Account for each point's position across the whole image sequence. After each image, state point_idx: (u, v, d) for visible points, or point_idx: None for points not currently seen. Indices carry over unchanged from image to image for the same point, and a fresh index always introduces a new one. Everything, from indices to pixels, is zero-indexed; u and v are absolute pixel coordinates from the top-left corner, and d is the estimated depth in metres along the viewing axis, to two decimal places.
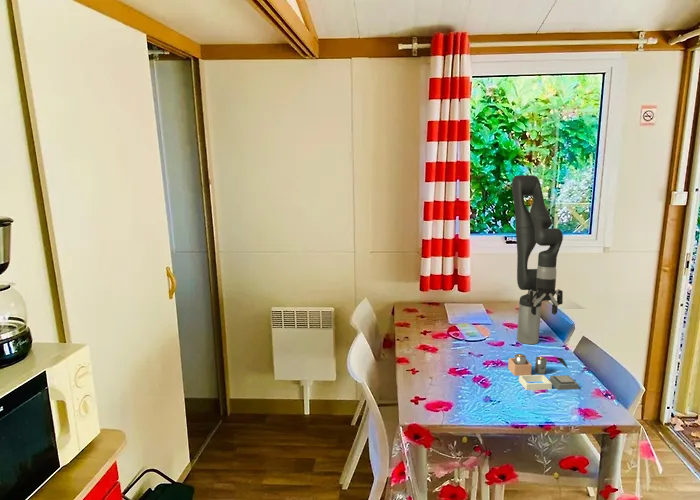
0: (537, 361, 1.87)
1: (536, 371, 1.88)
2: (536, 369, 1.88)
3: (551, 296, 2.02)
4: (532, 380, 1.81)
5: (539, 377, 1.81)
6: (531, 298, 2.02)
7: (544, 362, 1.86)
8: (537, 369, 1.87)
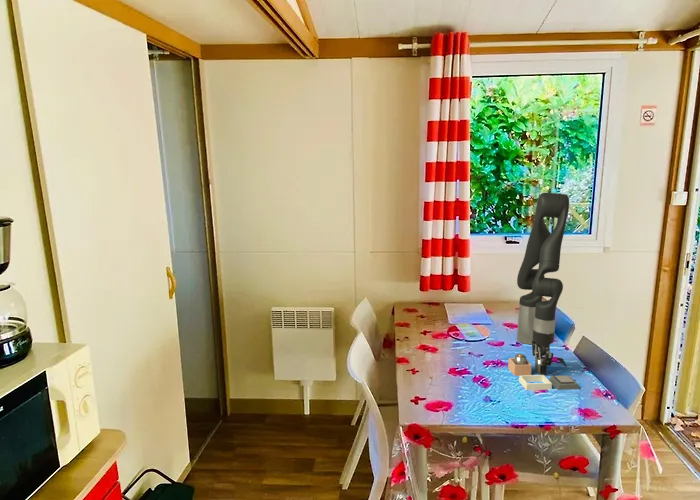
0: (537, 361, 1.87)
1: (536, 371, 1.88)
2: (536, 369, 1.88)
3: None
4: (532, 380, 1.81)
5: (539, 377, 1.81)
6: None
7: None
8: (537, 369, 1.87)
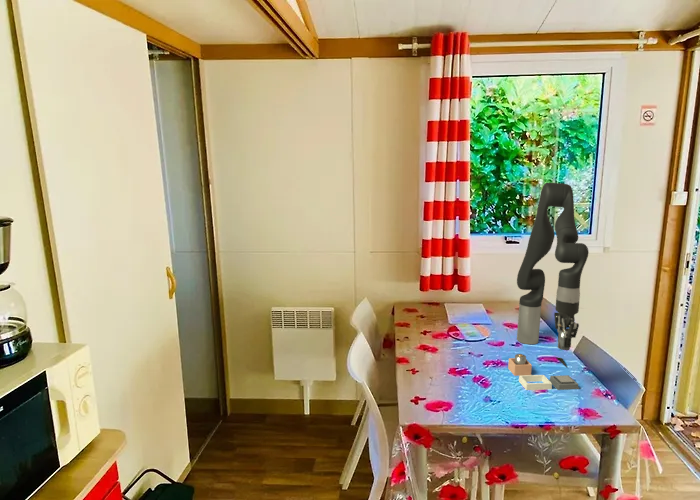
0: (561, 333, 1.74)
1: (559, 344, 1.75)
2: (559, 342, 1.75)
3: None
4: (532, 380, 1.81)
5: (539, 377, 1.81)
6: None
7: None
8: (560, 342, 1.75)
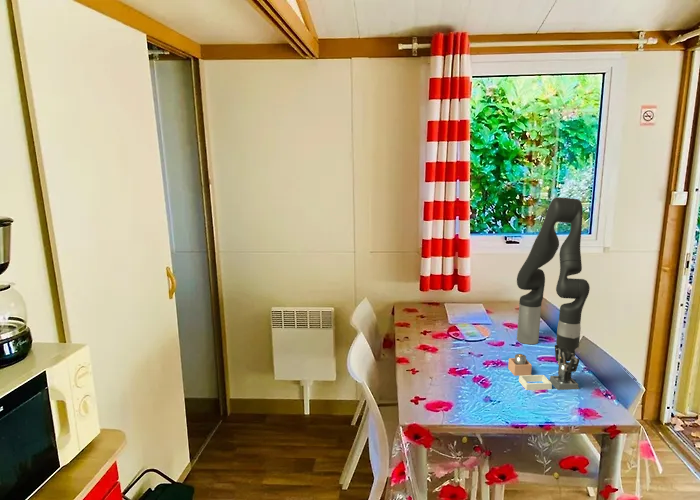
0: (561, 367, 1.76)
1: (560, 377, 1.77)
2: (560, 375, 1.77)
3: None
4: (532, 380, 1.81)
5: (539, 377, 1.81)
6: None
7: None
8: (561, 375, 1.77)
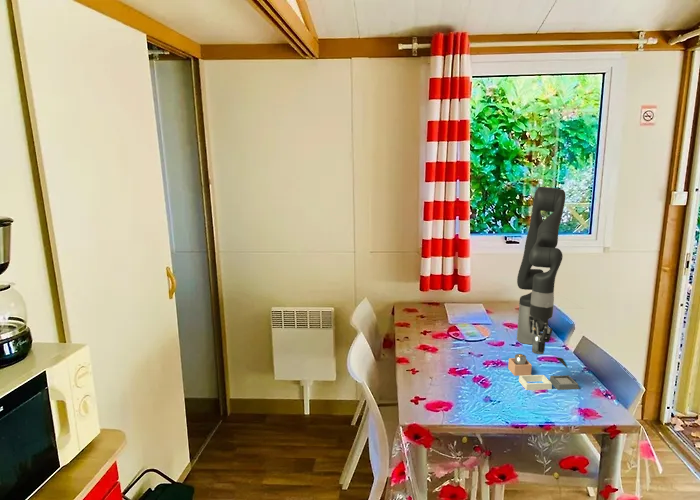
0: (535, 338, 1.74)
1: (534, 348, 1.75)
2: (534, 346, 1.75)
3: None
4: (532, 380, 1.81)
5: (539, 377, 1.81)
6: None
7: None
8: (534, 347, 1.74)
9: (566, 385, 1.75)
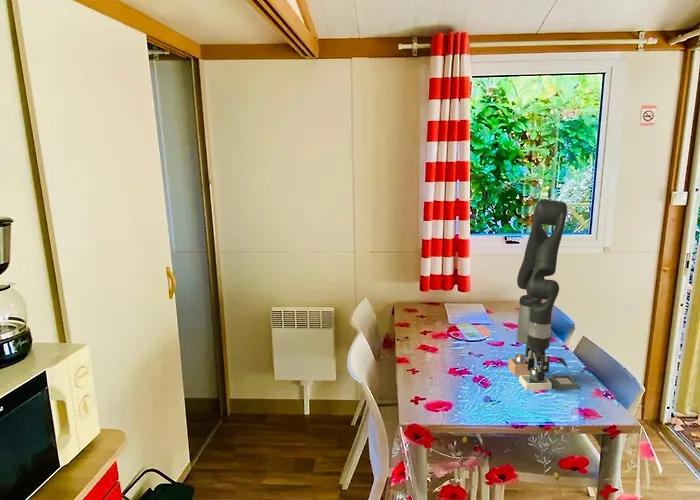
0: (532, 372, 1.76)
1: (531, 382, 1.77)
2: (531, 380, 1.77)
3: None
4: None
5: None
6: None
7: None
8: (531, 380, 1.77)
9: (566, 385, 1.75)
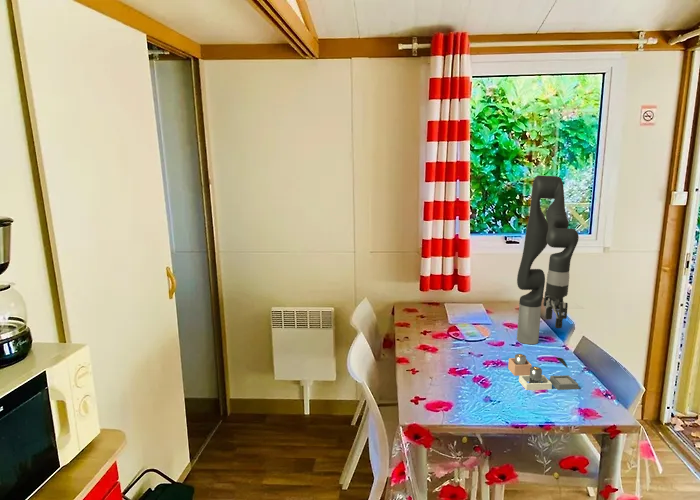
0: (532, 372, 1.76)
1: (531, 382, 1.77)
2: (531, 380, 1.77)
3: None
4: None
5: None
6: None
7: (539, 373, 1.75)
8: (531, 380, 1.77)
9: (566, 385, 1.75)
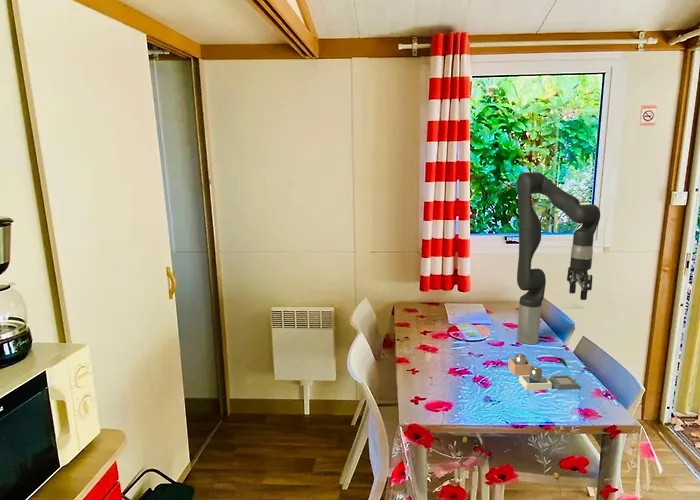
0: (532, 372, 1.76)
1: (531, 382, 1.77)
2: (531, 380, 1.77)
3: None
4: None
5: None
6: None
7: (539, 373, 1.75)
8: (531, 380, 1.77)
9: (566, 385, 1.75)
